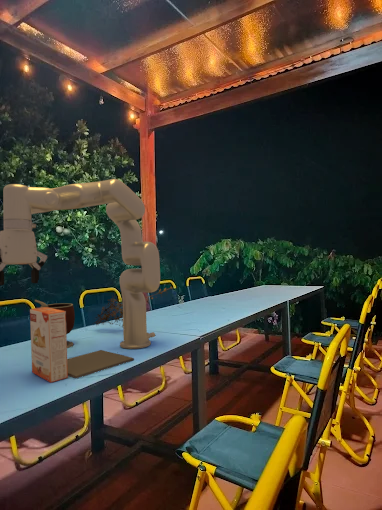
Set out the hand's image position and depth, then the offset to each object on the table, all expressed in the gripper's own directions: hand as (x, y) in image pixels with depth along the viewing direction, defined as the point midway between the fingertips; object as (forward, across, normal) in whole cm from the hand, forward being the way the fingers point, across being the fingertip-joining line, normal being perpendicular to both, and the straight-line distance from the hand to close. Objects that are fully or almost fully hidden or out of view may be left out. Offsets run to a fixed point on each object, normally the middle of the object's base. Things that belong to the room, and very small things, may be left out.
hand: (18, 283), depth 107 cm
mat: (+29, -24, 0) cm, 38 cm away
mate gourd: (+29, -28, -34) cm, 53 cm away
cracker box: (+30, -9, 0) cm, 31 cm away
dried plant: (+28, -65, -31) cm, 77 cm away
